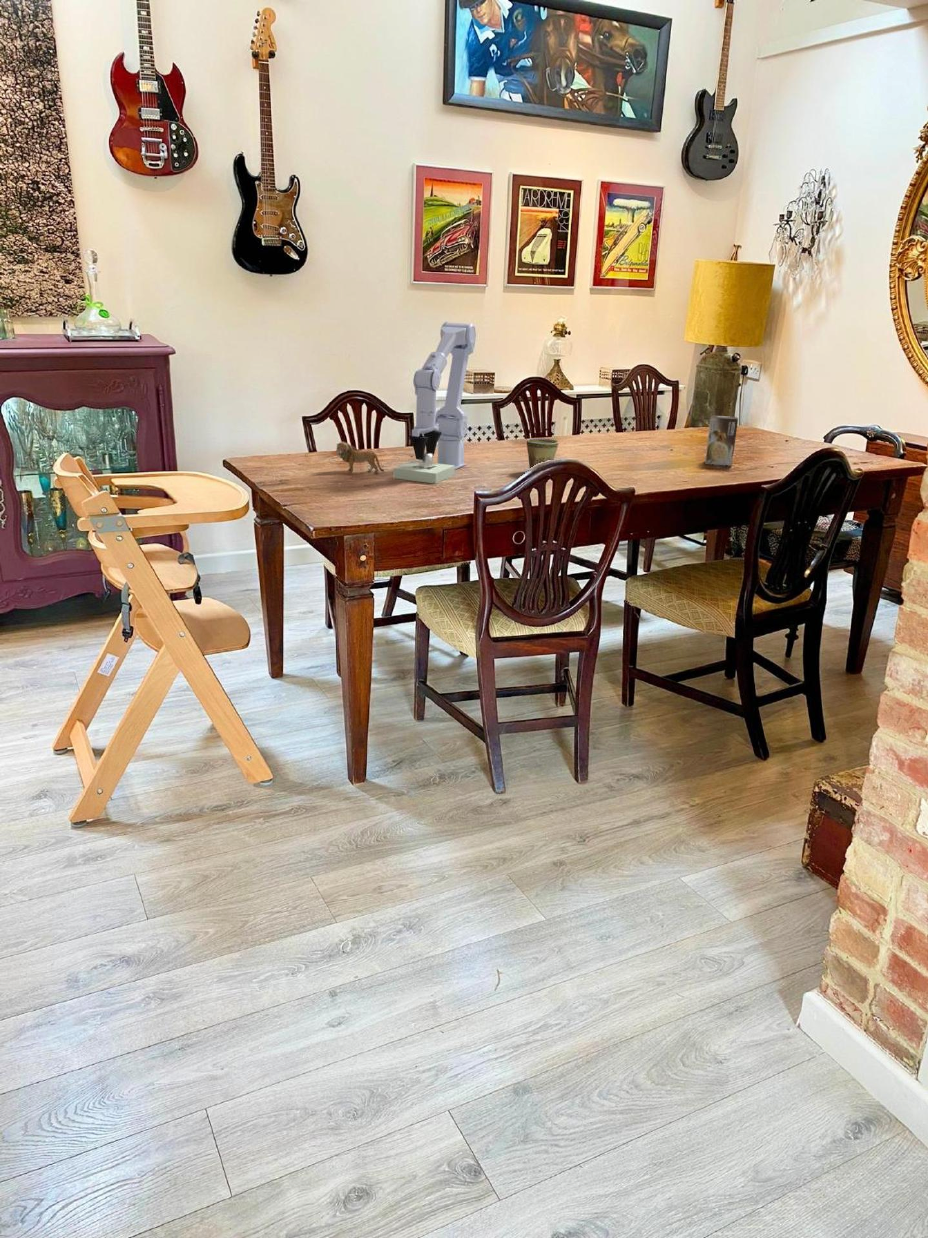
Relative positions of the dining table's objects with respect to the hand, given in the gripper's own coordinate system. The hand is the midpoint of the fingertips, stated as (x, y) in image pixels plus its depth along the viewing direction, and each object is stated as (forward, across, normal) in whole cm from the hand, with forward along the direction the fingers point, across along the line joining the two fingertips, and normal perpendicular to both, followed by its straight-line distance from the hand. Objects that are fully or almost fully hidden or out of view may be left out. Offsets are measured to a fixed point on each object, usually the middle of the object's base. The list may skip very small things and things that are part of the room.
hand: (425, 457), depth 263 cm
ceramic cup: (+6, +28, -28) cm, 40 cm away
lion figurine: (+6, -5, +20) cm, 21 cm away
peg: (+6, 0, 0) cm, 6 cm away
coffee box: (+6, +77, -77) cm, 109 cm away
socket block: (+6, 0, 0) cm, 6 cm away
